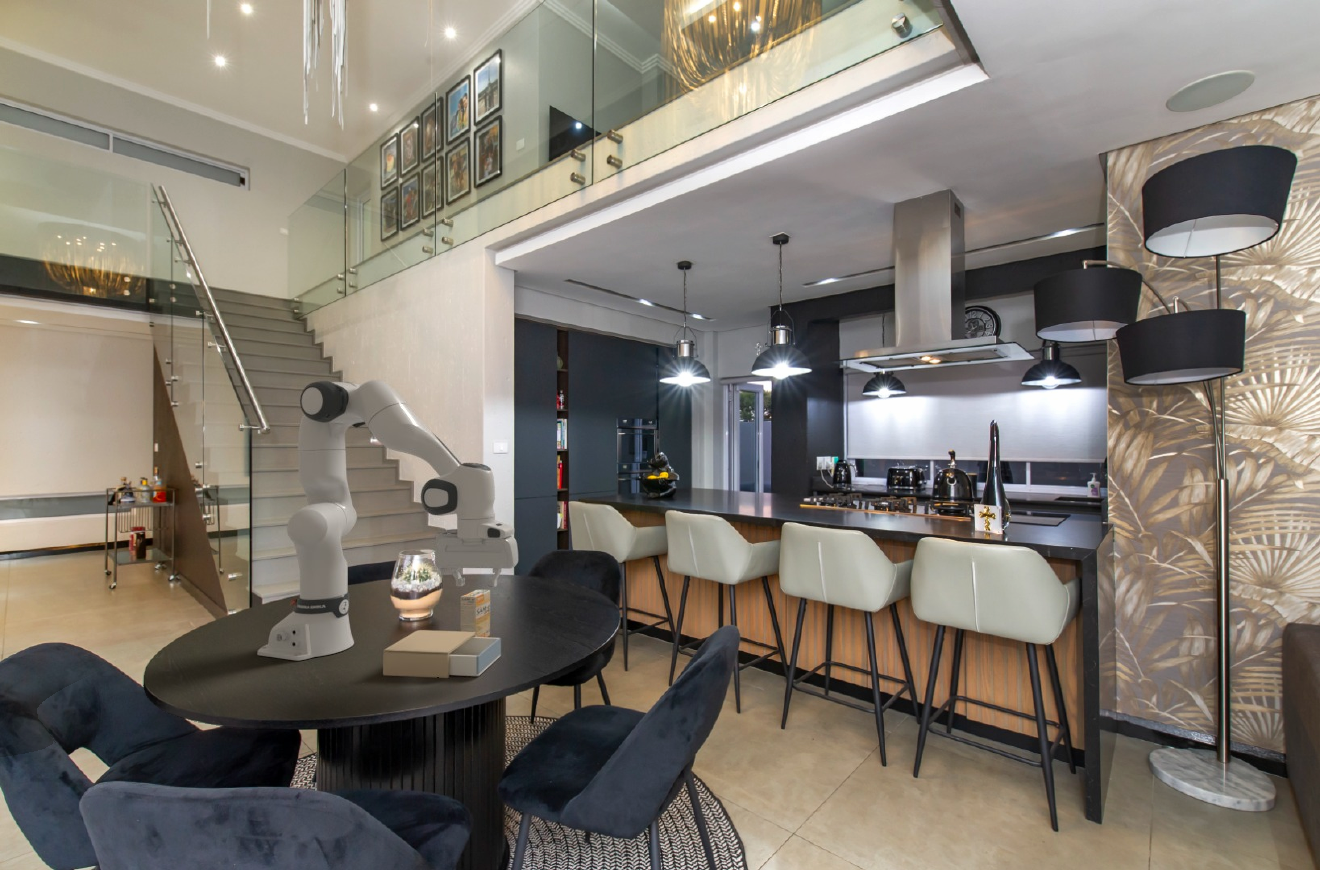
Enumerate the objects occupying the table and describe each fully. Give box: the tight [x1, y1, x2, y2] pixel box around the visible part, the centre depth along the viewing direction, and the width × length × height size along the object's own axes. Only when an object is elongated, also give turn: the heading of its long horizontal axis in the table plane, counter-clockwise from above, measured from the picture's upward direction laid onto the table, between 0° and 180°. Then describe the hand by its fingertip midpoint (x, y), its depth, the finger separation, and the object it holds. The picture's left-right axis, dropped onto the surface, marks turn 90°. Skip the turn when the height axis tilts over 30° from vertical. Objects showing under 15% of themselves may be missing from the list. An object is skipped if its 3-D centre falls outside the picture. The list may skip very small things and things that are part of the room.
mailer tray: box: [449, 637, 502, 677], centre depth 139 cm, size 15×13×4 cm
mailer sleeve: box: [382, 629, 476, 679], centre depth 140 cm, size 16×15×6 cm
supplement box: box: [460, 589, 491, 638], centre depth 158 cm, size 8×5×13 cm, turn 168°
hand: (476, 586), depth 139 cm, fingers open, 7 cm apart
